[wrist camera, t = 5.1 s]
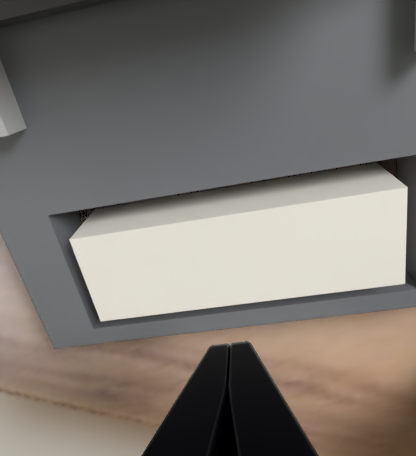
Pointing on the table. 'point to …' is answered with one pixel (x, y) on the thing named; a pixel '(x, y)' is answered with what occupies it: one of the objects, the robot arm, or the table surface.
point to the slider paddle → (39, 9)
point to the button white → (246, 243)
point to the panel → (194, 131)
